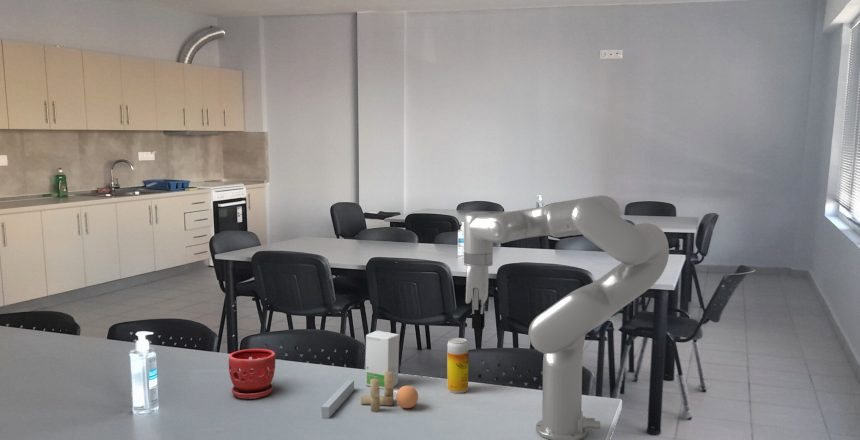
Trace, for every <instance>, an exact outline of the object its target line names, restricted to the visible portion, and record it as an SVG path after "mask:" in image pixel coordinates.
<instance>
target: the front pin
mask: <svg viewBox="0 0 860 440" xmlns="http://www.w3.org/2000/svg"><path fill="white" fill-rule="evenodd" d="M393 403H394V396H393V397H386V396H385V395H383V396H381V395H380V406H391V407H392V406H393ZM360 404H361V405H368V406H369V405H370V406H371V395H363V394H362V395H361V397H360Z"/></svg>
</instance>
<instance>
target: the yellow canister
mask: <svg viewBox="0 0 860 440" xmlns="http://www.w3.org/2000/svg"><path fill="white" fill-rule="evenodd" d="M446 346H447V347H446V348H447V351H446V352H447V353H446V356H447V357H446V358H447V365H446V367H447V369H446V371H447V375H446V376H447V378H446V379H447V381H446V383H447V384H446V385H447V386H446V388H447V389H448V391H449V392H450V393H451V394H464V393H466V392H467V390H468V389H469V343H468V340H467V339H466V338H464V337H463V338H462V337H453V338H449V339H448V341H447V345H446Z"/></svg>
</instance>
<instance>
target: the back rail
mask: <svg viewBox="0 0 860 440" xmlns="http://www.w3.org/2000/svg"><path fill="white" fill-rule="evenodd" d="M354 391H355V379H347V380H345V382H344V383H343V384H342V385H341V386H340V387H339V388H338V389H337V390H336V391H335V392H334V393H333V394H331V396H330V398H329V397H328V399H327V400H326V401H325V402H324V403H323V404H322V405H321V418H322V419H330V418H331V417H332V416H333V414H334V413H335V412H336V411H337V410H338V409H339V407H340V406H341V405H342V404H343V403H344V402H345V401H346V400H347V399H348V397H350V395H351V394H352V393H353V392H354Z"/></svg>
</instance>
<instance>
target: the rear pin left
mask: <svg viewBox="0 0 860 440" xmlns="http://www.w3.org/2000/svg"><path fill="white" fill-rule="evenodd" d="M370 385H371V386H370V396H371V405H370V412H372V413H378V412H380V411H381V410H380V409H381V408H380V407H381V405H380V396H381V395H380V392H381V391H380V389H381V388H379V379H377V378H374V379H371V380H370Z"/></svg>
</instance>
